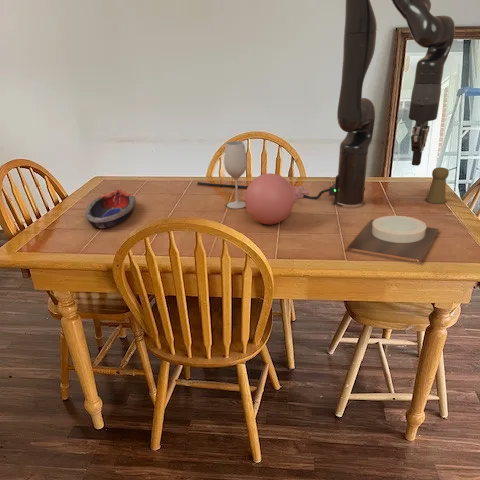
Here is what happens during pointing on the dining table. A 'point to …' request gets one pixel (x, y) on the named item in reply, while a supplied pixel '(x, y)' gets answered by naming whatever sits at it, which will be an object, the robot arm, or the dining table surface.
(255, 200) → the balloon
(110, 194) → the dish
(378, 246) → the board
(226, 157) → the wineglass
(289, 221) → the dining table surface
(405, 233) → the plate
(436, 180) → the olive pepper mill
